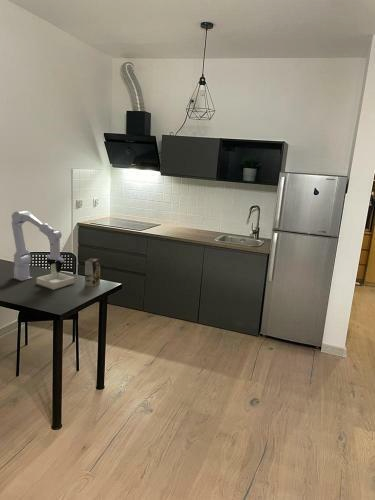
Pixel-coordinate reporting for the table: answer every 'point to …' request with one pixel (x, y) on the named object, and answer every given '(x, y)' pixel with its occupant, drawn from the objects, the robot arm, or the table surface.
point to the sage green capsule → (53, 270)
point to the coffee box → (92, 272)
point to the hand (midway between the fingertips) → (55, 271)
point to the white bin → (55, 281)
